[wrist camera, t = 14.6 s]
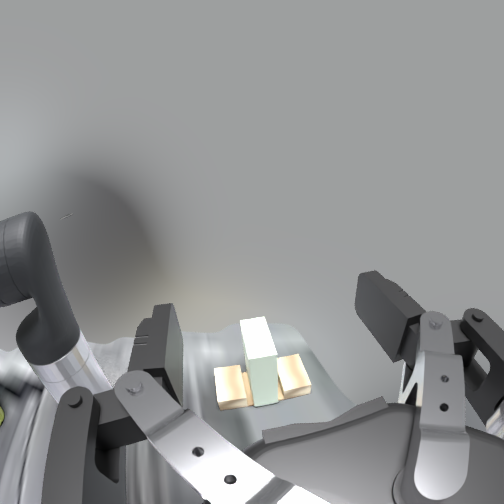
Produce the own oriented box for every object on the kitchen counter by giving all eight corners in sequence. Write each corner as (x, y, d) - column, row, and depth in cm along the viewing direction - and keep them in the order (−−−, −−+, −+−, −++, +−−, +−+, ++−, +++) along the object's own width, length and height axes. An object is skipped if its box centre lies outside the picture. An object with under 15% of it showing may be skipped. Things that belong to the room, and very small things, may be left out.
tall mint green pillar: (254, 406, 38) (248, 359, 33) (246, 369, 45) (239, 320, 40) (278, 402, 38) (277, 354, 33) (267, 366, 45) (264, 316, 40)
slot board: (220, 410, 37) (217, 401, 36) (216, 377, 44) (214, 368, 43) (310, 393, 39) (311, 384, 38) (297, 363, 45) (298, 353, 44)
